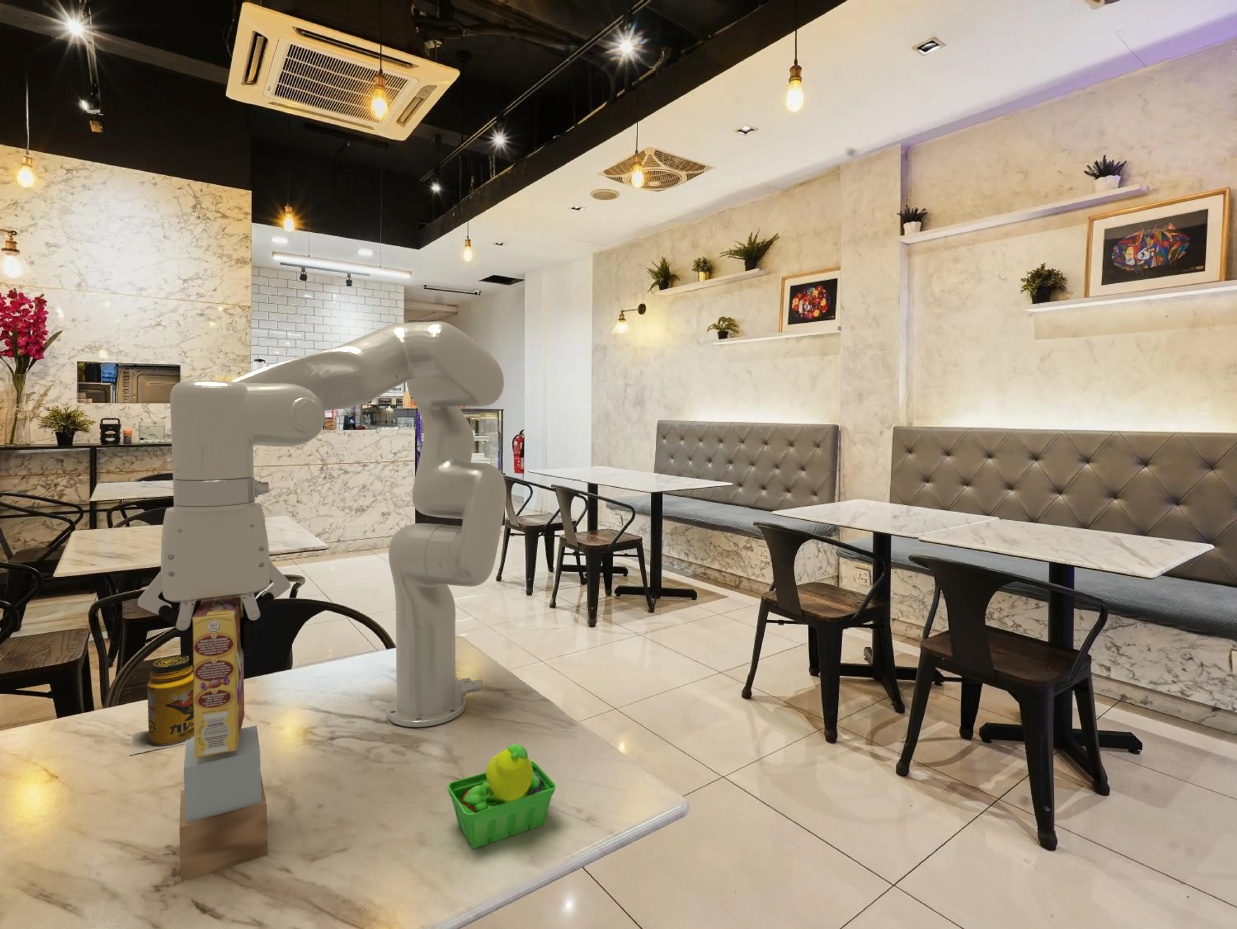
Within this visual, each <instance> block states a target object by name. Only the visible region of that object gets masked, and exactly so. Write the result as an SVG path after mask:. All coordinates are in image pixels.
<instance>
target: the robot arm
mask: <svg viewBox="0 0 1237 929" xmlns="http://www.w3.org/2000/svg"><path fill="white" fill-rule="evenodd" d="M405 383H406V387H407V390H408V393H409V394H410V397H411V399H412V401H413V402H414V404H415V406H416V408H417V411H418V413H419V416H420V418H421V421H422V424H423V440H422V446H421V451H420V456H419V460H418V463H417V468H416V473H415V475H414V476H415V478H414V482H413V486H412V492H411V495H412V496H411V497H412V498H411V500H412V504H413V507H414V508H415V510H416V511H417V512H419V513H420V514H422V515H426V516H429V517H436V518H445V519H458V520H459V519H460V520H462V524H461V526H460V525H448V524H438V523H426V522H425V523H421V522H420V523H413V524H409V525H406V526H403V527H402V528H400V529H398V530H397V532H395V534H394V535H393V537H392V538H391V540H390V543H389V546H388V563H389V567H390V572H391V577H392V582H393V585H394V586H393V588H394V597H395V638H396V639H395V654H396V655H395V656H396V657H395V661H396V662H395V663H396V665H395V666H396V673H395V674H396V676H395V677H396V698H394V699H393V700H392V701H391V702H390V703H389V704H388V705H387V708H386V717H387V719H388V720H389V722H391V723H393V724H395V725H398V726H401V727H407V728H423V727H424V728H425V727H431V726H436V725H441V724H444V723H446V722H449V721H451V720H454V719H455V718H457V717H458V716H460V715H461V714H462V713H463V712H464V711H465V708H466V699H465V697H466V696H467V694H471V693H477V692H481V691H483V690H484V688H485V687H484V681H483V680H482V678H479V679H476V680H471V679H472V678H470V677H463V678H462V679H458V678H457V677H456V673H457V672H456V619H457V618H456V613H457V611H456V603H455V599H454V596H453V593H452V590H451V589H450V586H457V587H469V588H470V587H477V586H480V585H482V584H484V583H485V582H486V581H487V580H488V579H489V578H490V576H491V574H492V571H493V569H494V566H495V562H496V559H497V553H498V547H499V542H500V538H501V537H500V536H501V531H502V525H503V520H504V515H505V508H506V502H507V486H506V481H505V478H504V475H503V473H502V472H501V471H500V469H499V468H497V467H496V466H494V465H492V464H489V463H485V462H472V456H473V451H474V445H475V437H474V433H473V429H472V427H471V425H470V422H469V421H468V419H467V418H466V416H465V414H464V413H463V411H462V410H461V408H460V407H487V406H491V405H493V404H495V403H496V402H497V401H498V400H499V399H500V397H501V396H502V393H503V391H504V389H505V388H504V387H505V379H504V373H503V371H502V368H501V366H500V364H499V362H498V361H497V360H496V358H495V357H493V355H492V354H490V353H489V352H488V351H487V350H486V349H484V347H482V346H481V345H480V344H478V343H477V342H476V341H475V340H474V339H473V338H472V337H470V336H469V335H468V334H467V333H465V332H464V331H463V330H461V329H459V328H458V327H456V326H454V325H453V324H450V323H448V322H445V321H422V322H421V321H420V322H418V321H417V322H402V323H401V322H400V323H395V324H389V325H386V326H384V327H381V328H378V329H377V330H375V331H372V332H370V333H367V334H365V335H363V336H360V337H358V338H355V339H352V340H351V341H348V342H345V343H343V344H340V345H339V346H336V347H333V348H329V349H325V350H320V351H317V352H313V353H310V354H308V355H305V356H301V357H297V358H294V359H290V360H289V359H288V360H286V361H283V362H279V363H276V364H272V365H269V366H264V367H262V368H259V369H255V370H253V371H251V372H248V373H246V374H243V375H241V376H239V377H236V378H234V379H231V380H229V381H222V380H219V381H218V380H186V381H185V380H184V381H180V382H178V383H176V384H174V386H173V387H172V388H171V390H170V395H169V403H170V404H169V405H170V407H169V408H170V428H171V429H170V431H171V457H172V458H171V459H172V479H173V480H172V486H173V507H172V506H171V507H167V508H165V512H164V515H163V516H164V517H163V522H162V530H161V531H162V532H161V544H160V545H161V551H160V571H159V572H158V574H157V575H156V576H155V578H154V579H153V580H152V581H151V583H149V585H147V587H146V589H145V590H144V591H143V593H142V594H141V595H140V596H139V597H138V600H137V606H138V607H139V608H142V609H144V610H146V611H148V612H150V613H152V614H156V615H158V616H159V617H161V618H162V619H164V620H165V621H167V622H168V623H170V624H171V625H173V626H174V627H175V628H176V629H177V630H179V644H180V647H179V648H180V655H181V657H185V656H188V657H189V666H192V667H193V620H192V618H193V615H194V614H193V613H194V609H195V605H196V602H199V601H202V600H208V599H217V598H225V597H233V596H241V597H242V604H243V605H244V608H245V609H244V611H242V615H243V617H241V620H242V650H243V656H245V657H248V656H249V657H250V656H252V646H257V645H258V644H259V642H258V640H259V639H258V619H259V618H260V617H261V615H262V614H263V613H264V611H265V610H266V609H267V608H269V606H270V605H271V604H272V603H273V602H274V601H275V600H276V599H278V598H279V597H280V596H281V595H283V594H284V593H285V592H287V591H288V590H289V589H290V588H291V585H292V584H291V582H290V581H289V579H288V578H287V577H286V576H285V575H284V574H283V573H282V572H281V571H280V570H279V569H278V568H277V567H276V566H275V565H274V564H273V562H271V561H270V560H271V559H270V548H269V539H268V532H267V527H266V520H265V513H264V510H263V505H262V504H261V503H259V502H256V498H257V497H259V496H262V494H269V493H270V483H269V481H263V482H262V481H260V480H257V479H255V472H254V470H255V468H254V465H255V464H254V446H259V447H260V446H264V447H296V446H301V445H305V444H306V443H309V442H310V441H312V440H314V439H315V438H316V437H317V436H318V435H319V434H320V433H321V431H322V429H323V428H324V425H325V421H326V411H327V412H328V411H336V410H344V409H349V408H354V407H357V406H362V405H364V404H365V405H366V404H368V403H371V402H372V401H374V400H376V399H377V398H379V397H381V396H383V395H384V394H386V393H388V392H390V391H391V390H393V389H395V388H396V387H399V386H401V385H402V384H405ZM271 582H272V584H271V586H269V585H270V583H271ZM268 587H269V588H268ZM260 592H262V593H261V594H259V596H257V597H255V594H257V593H260ZM161 593H162V596H163V598H164V599H165V600H166V601H164V600H162V599H160V598H159V596H160V594H161ZM167 601H168V602H167ZM170 602H172V603H179V607H178V608H177V607H176V606H174V605H173V604H171V603H170Z"/></svg>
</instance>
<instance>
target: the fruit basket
mask: <svg viewBox="0 0 1237 929" xmlns="http://www.w3.org/2000/svg"><path fill="white" fill-rule="evenodd" d="M528 756H529V755H528V751H527V749H526V748H525V747H524V746H521V744H517V743H512V744H510V745H509V746H508V747H507V748H504V749H503V750H502V751H500V752H498V753H496V755H495V756H493V757H492V758H491V759H490V760H489V762H488V764H487V767H486V770H485V772H482V773H478V774H475V775H473V776H468V777H465V778H461V779H457V780H454V781H451V782H449V783H448V784H447V786H446V787H447V791H448V795H449V796H450V798H451V802H452V804H453V809H454V812H455V815H456V816H455V817H456V820H457V824H458V827H459V828H460V829H461V830H462V833H463V835H464V837H465V838H466V840H467V841H468V842H469V843H470V846H471V848H472V849H473V850H474V849H478V848H480V847H484V846H486V845H488V844H489V843H495V842H497V841H500V840H503V839H506V838H508V837H509V836H515V835H518V834H521V833H524V832H526V831H527V830H528V829H529V830H531V829H535V828H538V827H541V826H543V825H544V824H545V821H546V817H547V814H548V810H549V806H550V803H551V799H552V796H553V795H554V793H555V791H556V787H557V786H556V783H555V782H554V781H552V779H551V778H550V777H549V775H547V774H546V772H544V770H543V769H542V767H540V766H539V765H538V764H537V763H536V762H534V761H533V760H531V759H530V758H529V757H528Z"/></svg>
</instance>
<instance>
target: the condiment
mask: <svg viewBox="0 0 1237 929" xmlns="http://www.w3.org/2000/svg"><path fill="white" fill-rule="evenodd" d="M149 670H150V673H149V678H150V679H149V680H148V682H147V684H146V689H147V713H148V715H147V724H148V726H147V727H148V730H146V731H139V732H134V733H133V735H132V742H131V746H130V752H129V756H131V755H132V756H133V755H136V754H142V753H145V752H150V751H151V752H152V751H155V750H160V749H166V748H171V747H175V746H181V745H186V740H189V739H194V684H193V665H192V666H189V656H185V657H181V654H180V655H170V656H165V657H162V658H158V659H157V660H155V661H153V662H151V663H150V666H149Z"/></svg>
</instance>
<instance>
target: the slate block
mask: <svg viewBox="0 0 1237 929" xmlns="http://www.w3.org/2000/svg"><path fill="white" fill-rule="evenodd" d="M184 750H185V751H184V761H183V762H184V763H183V780H184V781H183V784H184V788H183V790H185V822H186V823H188V822H192V821H195V820H199V819H203V818H207V817H210V816H214V815H218V814H222V813H225V812H229V811H233V810H237V809H240V808H244V807H248V806H252V805H255V804H259V803H261V777H262V773H261V772H262V771H261V749H260V739H259V734H258V727H257V725H253V726H252V725H251V726H247V727H241V732H240V736H239V741H238V747H237V750H236V751H232V752H227V753H221V754H215V755H209V756H204V757H194V739H189V740H186V744H185V749H184Z"/></svg>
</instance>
